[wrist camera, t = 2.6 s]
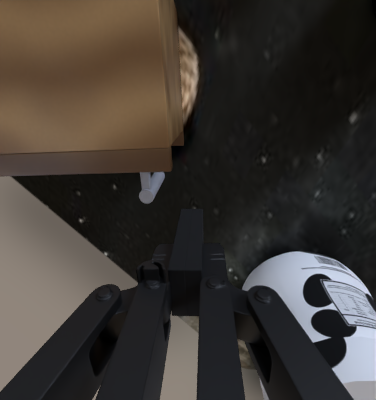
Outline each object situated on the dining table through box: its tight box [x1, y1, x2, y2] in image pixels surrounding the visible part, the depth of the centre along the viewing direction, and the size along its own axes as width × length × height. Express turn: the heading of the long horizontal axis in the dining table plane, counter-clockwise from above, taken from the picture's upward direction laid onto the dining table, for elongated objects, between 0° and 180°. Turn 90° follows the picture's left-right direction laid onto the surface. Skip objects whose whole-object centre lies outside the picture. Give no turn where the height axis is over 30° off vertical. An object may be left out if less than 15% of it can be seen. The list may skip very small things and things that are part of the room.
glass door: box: [139, 172, 165, 203], centre depth 25 cm, size 5×9×10 cm, turn 93°
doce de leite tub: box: [242, 251, 376, 400], centre depth 29 cm, size 17×17×18 cm
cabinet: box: [0, 0, 184, 176], centre depth 22 cm, size 14×20×13 cm
